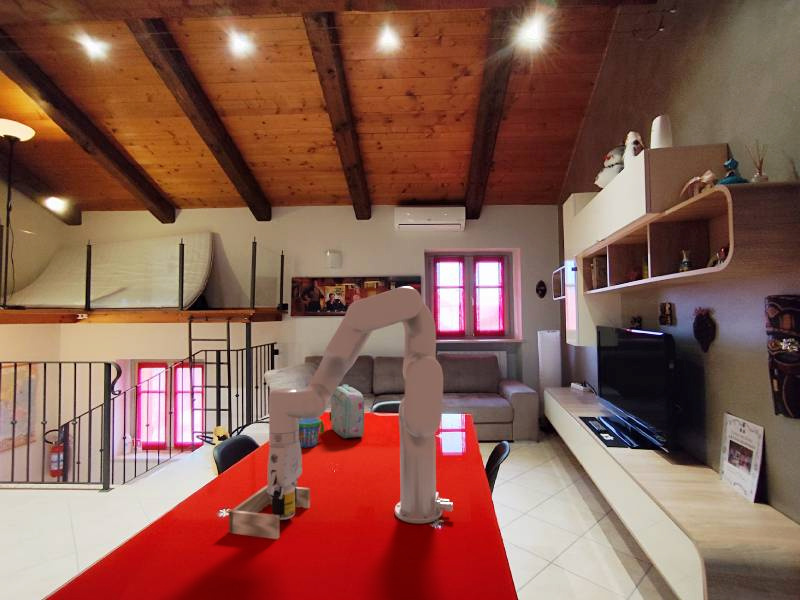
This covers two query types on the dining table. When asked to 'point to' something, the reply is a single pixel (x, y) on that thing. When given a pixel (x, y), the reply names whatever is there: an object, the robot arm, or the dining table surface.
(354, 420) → the lunch box
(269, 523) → the open-sided box
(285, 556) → the dining table surface
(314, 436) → the snack cup
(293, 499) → the supplement bottle
